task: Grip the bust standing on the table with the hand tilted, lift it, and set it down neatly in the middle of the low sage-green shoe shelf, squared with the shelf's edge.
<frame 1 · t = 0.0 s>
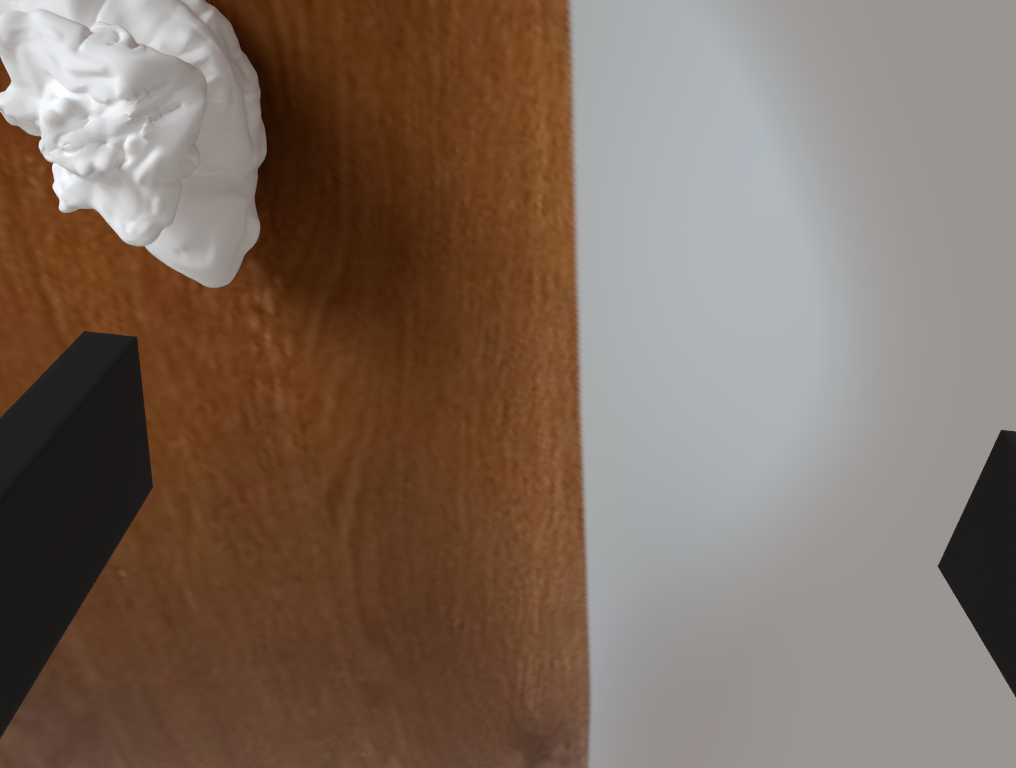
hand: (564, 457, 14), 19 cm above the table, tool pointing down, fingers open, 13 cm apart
bust: (183, 73, 30), on the table
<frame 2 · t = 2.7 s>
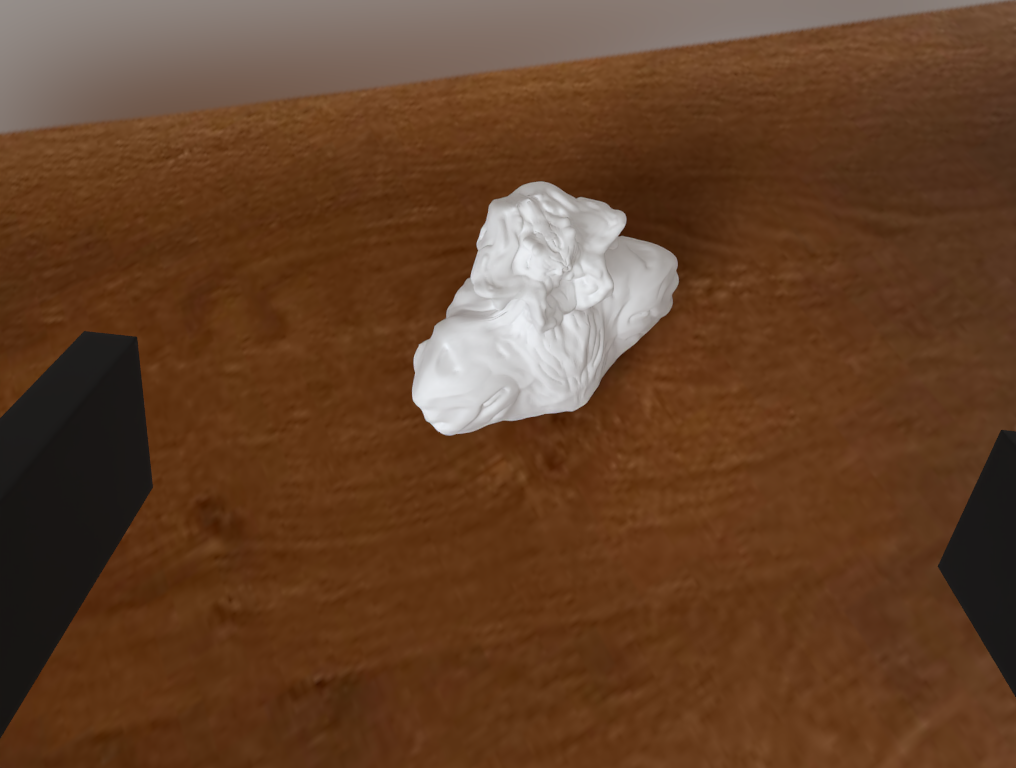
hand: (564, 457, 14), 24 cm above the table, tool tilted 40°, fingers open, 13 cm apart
bust: (527, 342, 39), on the table
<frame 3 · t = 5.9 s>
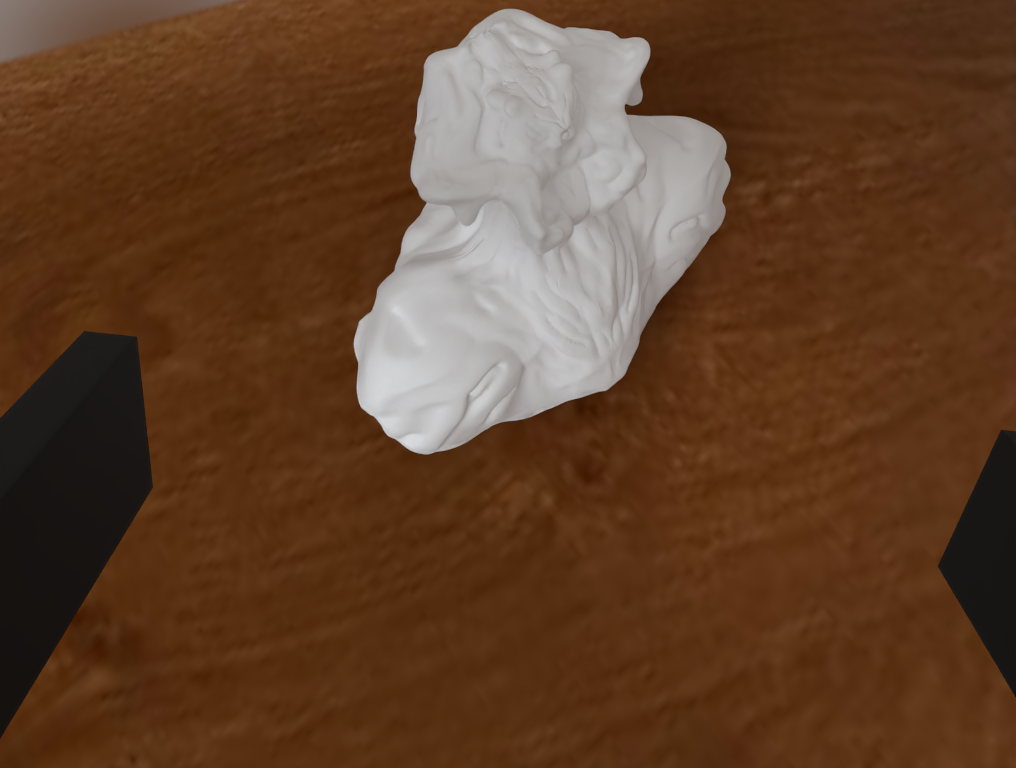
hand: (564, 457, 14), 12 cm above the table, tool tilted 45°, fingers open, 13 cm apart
bust: (523, 306, 27), on the table
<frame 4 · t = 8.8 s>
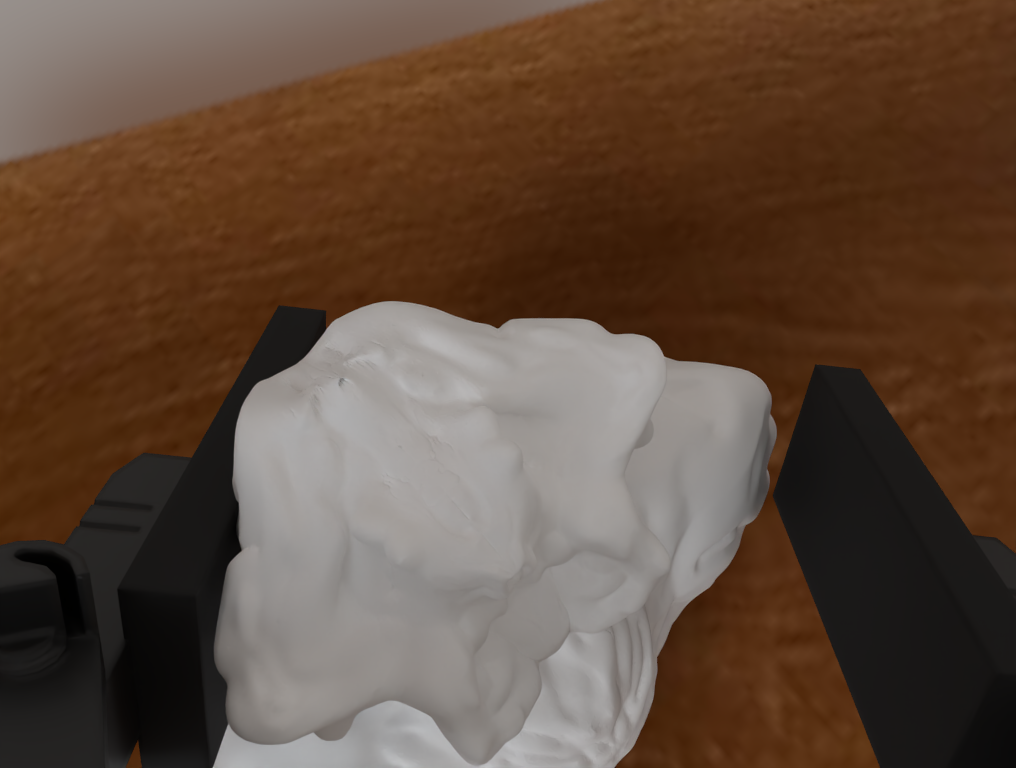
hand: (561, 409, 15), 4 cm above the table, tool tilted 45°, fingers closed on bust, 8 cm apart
bust: (472, 606, 18), on the table, touching gripper
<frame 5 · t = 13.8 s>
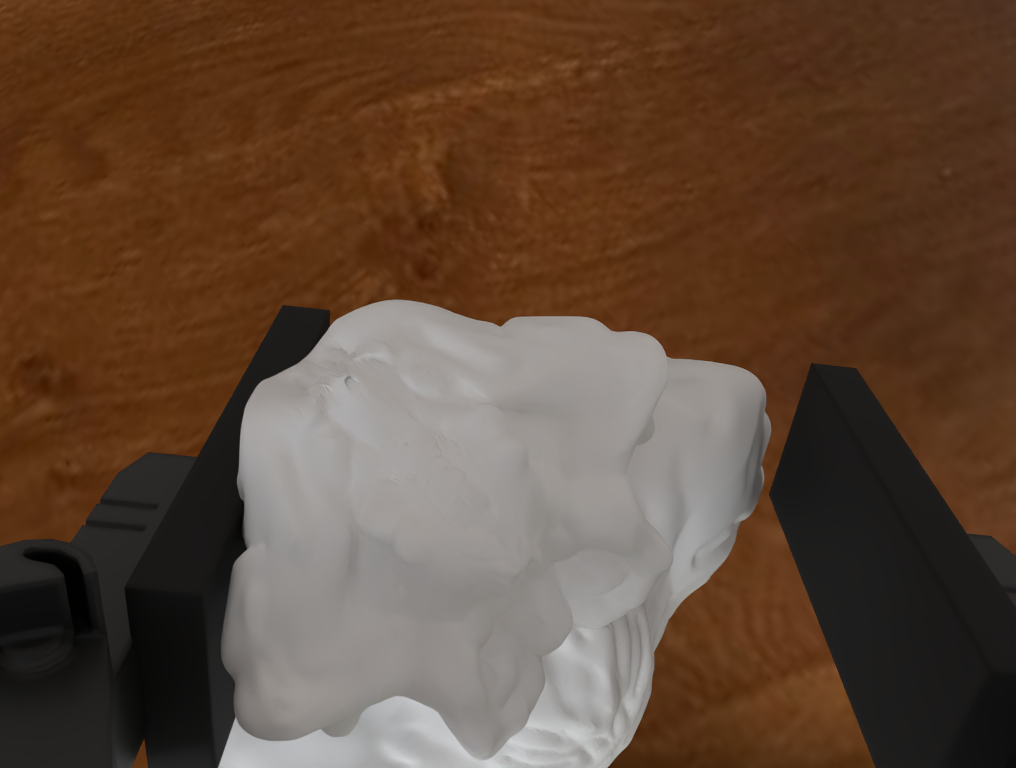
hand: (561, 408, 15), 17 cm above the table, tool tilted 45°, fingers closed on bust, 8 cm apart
bust: (468, 604, 18), point 12 cm above the table, touching gripper
when the fingers open (9 cm above the table, at t = 18.8 s): bust stays where it is, resting on shoe shelf.
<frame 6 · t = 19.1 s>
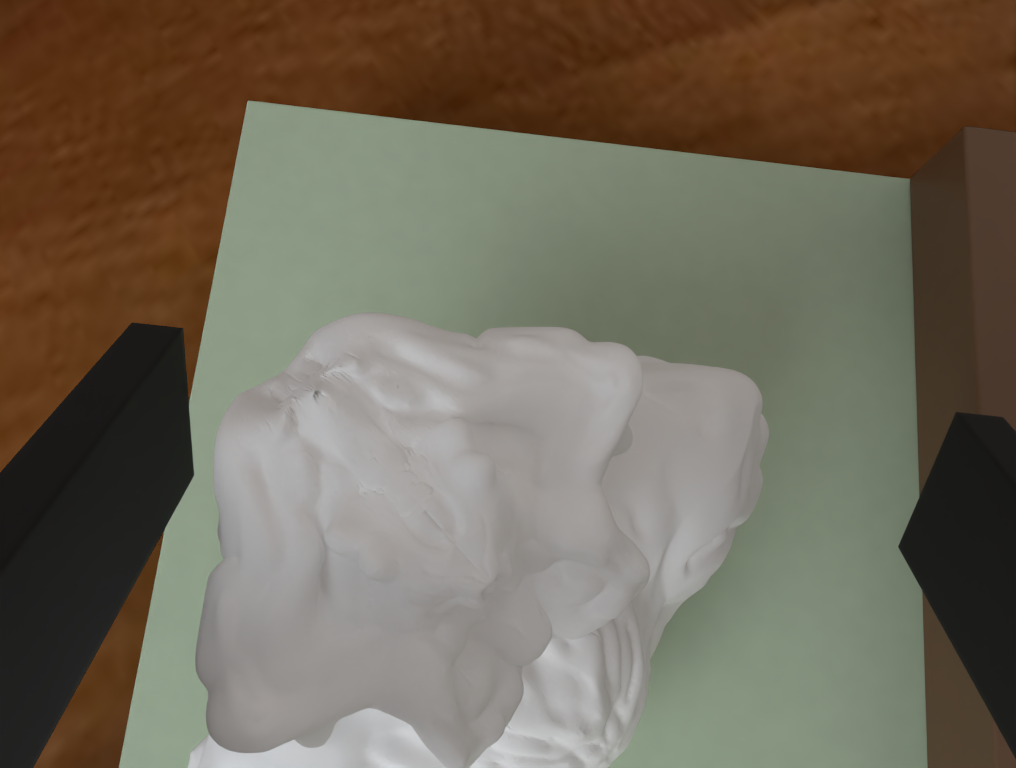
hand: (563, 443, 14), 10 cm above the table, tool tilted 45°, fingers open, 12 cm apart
shoe shelf: (547, 620, 23), on the table
bust: (469, 606, 18), point 5 cm above the table, touching shoe shelf
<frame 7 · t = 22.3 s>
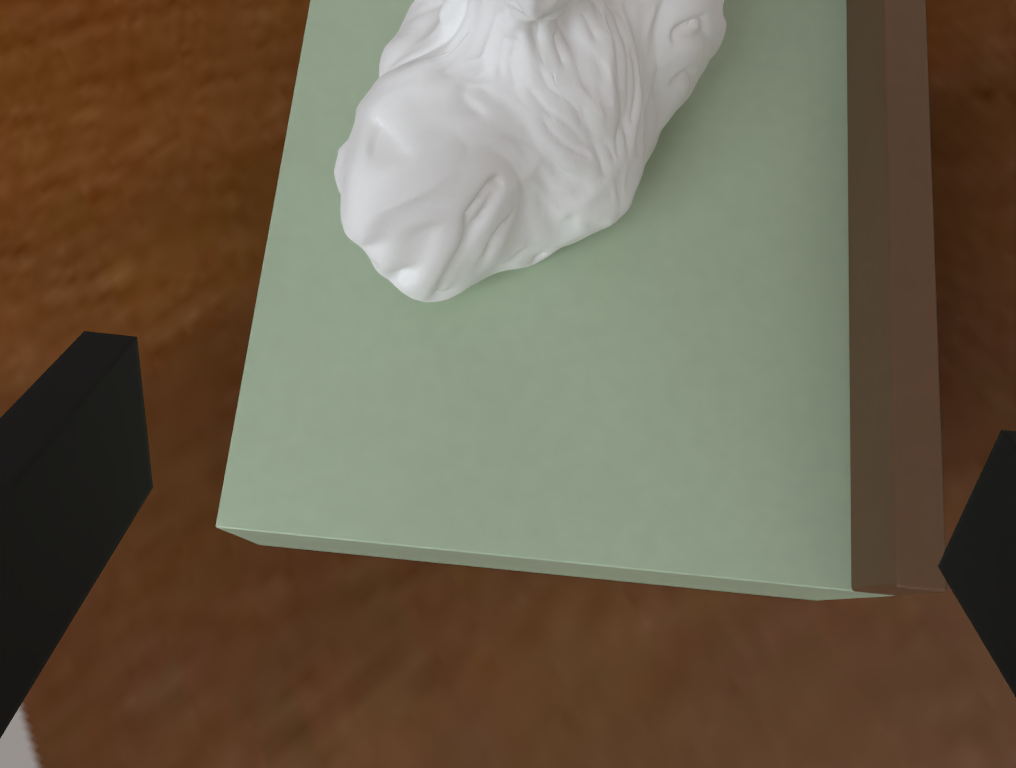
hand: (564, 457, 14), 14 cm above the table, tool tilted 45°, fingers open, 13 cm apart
shoe shelf: (568, 238, 30), on the table
bust: (514, 156, 25), point 5 cm above the table, touching shoe shelf
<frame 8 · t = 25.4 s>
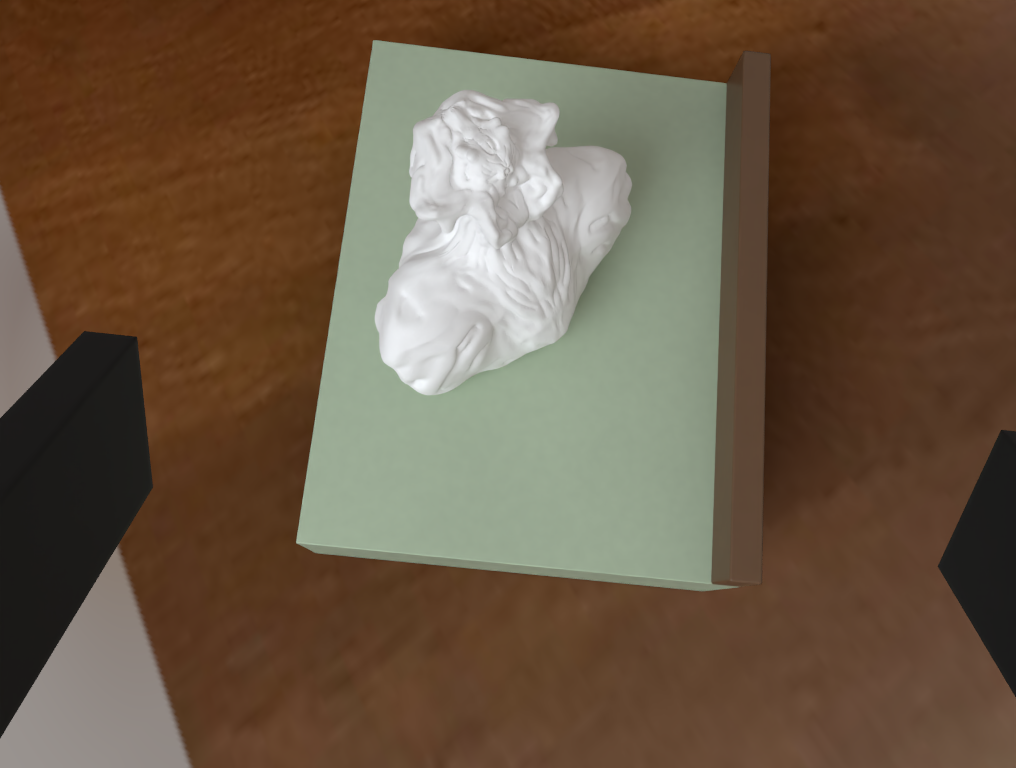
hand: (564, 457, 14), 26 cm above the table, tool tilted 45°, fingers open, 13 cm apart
shoe shelf: (532, 332, 41), on the table
bust: (492, 288, 37), point 5 cm above the table, touching shoe shelf
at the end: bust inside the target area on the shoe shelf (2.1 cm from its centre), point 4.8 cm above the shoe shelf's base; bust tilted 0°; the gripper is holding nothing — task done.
